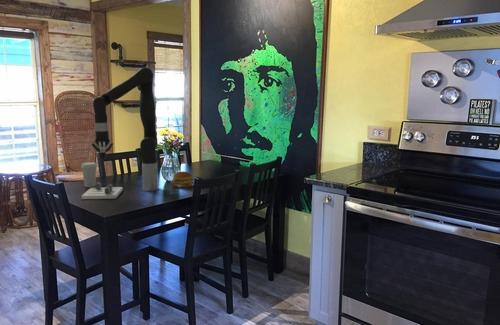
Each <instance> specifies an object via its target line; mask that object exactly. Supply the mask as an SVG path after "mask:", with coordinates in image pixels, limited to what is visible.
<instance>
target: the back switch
mask: <svg viewBox="0 0 500 325" xmlns="http://www.w3.org/2000/svg"><path fill="white" fill-rule="evenodd" d="M95 188H96V189H101V188H102V183H101V182H100V181H98V182H96V186H95Z"/></svg>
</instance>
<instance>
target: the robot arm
mask: <svg viewBox="0 0 500 325" xmlns="http://www.w3.org/2000/svg"><path fill="white" fill-rule="evenodd" d="M153 82H154V73H153V70H152V69H151V68H148V67H146V66H145V67H141V68H140V69H139V70H138V71H137V72H135V74H133V75H132V76H131V77H130V78H128V79H127V80H125V81H123V82H121V83H119V84H117V85H115V86H114V87H112V88H110V89H108V90H107V91H106V92H105V93H103V94H101V95H99V96H96V97H95V98H94V99H93V101H92V104H93V113H94V131H95V140H94V142H93V143H91V146H92V147H93V148H94V149H95V151H97V152H98V153H100V158H101V159H103V160H105V159H106V158H107V152H109V151H110V149H111V148H112V147H113V145H114V142H111V139H110V137H109V136H110V135H109V134H110V133H109V124H108V115H107V109H106V108H107V106H108V105H111V103H113V102H115V101H117V100H119V99H121V98H122V97H124V96H125V95H127V94H128V93H129V92H130V91H132V90H134V89H135V88H137V87H139V88H140V89H139V90H140V94H139V115H140V121H141V124H142V127H143V139H141V141H140V144H139V145H140V146H139V148H140V150H139V151H140V158H141V169H142V170H141V172H142V174H141V176H142V190H143V191H146V192H154V191H158V190H159V173H158V158H157V156H156V153H157V152H156V149H157V147H158V138H157V130H156V105H155V104H156V103H155V98H154V97H155V96H154V92H153ZM108 145H109V146H108ZM107 146H108V147H107Z"/></svg>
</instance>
